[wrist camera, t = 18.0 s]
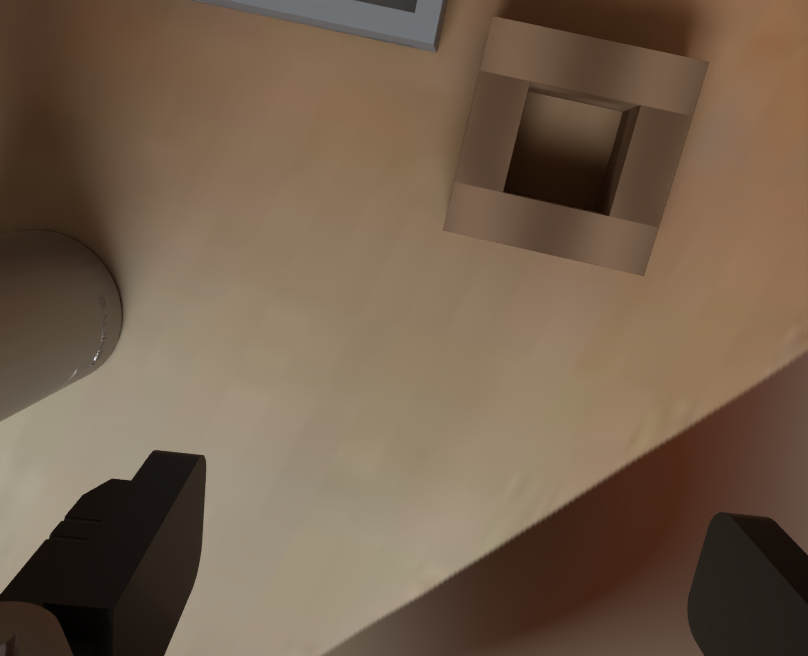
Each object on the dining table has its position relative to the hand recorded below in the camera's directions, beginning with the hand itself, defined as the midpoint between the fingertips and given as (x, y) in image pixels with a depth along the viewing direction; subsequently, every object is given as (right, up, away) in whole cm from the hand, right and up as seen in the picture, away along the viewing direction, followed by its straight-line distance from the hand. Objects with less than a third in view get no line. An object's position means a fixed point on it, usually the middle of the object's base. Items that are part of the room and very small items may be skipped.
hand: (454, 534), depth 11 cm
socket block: (+7, +13, +26) cm, 30 cm away
